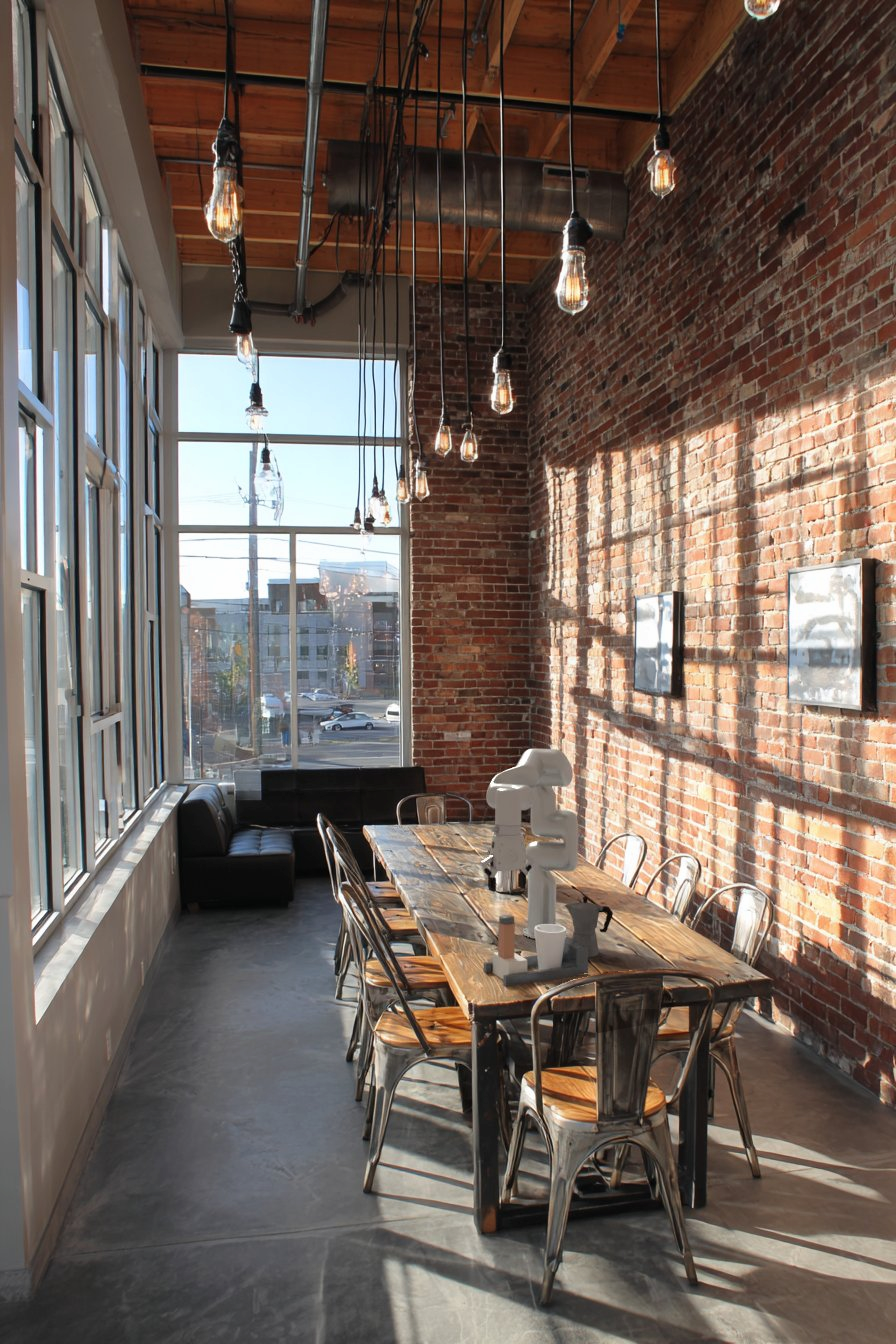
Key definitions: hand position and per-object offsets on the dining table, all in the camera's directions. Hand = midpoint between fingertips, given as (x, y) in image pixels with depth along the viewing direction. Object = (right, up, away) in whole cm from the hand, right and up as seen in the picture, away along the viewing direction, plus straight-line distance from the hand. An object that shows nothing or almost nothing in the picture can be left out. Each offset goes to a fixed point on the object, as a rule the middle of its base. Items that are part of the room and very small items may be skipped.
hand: (507, 889), depth 275 cm
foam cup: (+13, -26, +6) cm, 30 cm away
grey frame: (+9, -26, +5) cm, 28 cm away
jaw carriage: (+1, -26, +1) cm, 26 cm away
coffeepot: (+27, -26, +25) cm, 45 cm away
